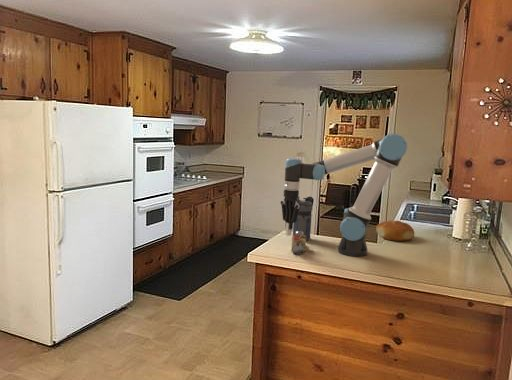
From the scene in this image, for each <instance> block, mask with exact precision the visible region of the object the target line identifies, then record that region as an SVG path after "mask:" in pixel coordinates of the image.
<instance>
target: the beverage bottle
mask: <svg viewBox="0 0 512 380" xmlns="http://www.w3.org/2000/svg"><path fill="white" fill-rule="evenodd" d="M297 201H298V204H299V205H301V207H300V209H299V212H298V216H297V220H296V222H294V223H293V228H292V236H293V235H295V234H296V231H303V235H305V236H306V241H308V240H310V238H311V231H312V230H311V229H312V228H311V227H312V216H313V215H312V211H313V205H314V202H315V201H314V198H313V197H312V196H307V197H303V198H302V199H300V196H299V197H298V198H297Z"/></svg>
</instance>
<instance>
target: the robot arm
mask: <svg viewBox="0 0 512 380" xmlns="http://www.w3.org/2000/svg"><path fill="white" fill-rule="evenodd" d="M407 149H408V143H407V141H406V139H405V137H403V136H402V135H400V134H398V133H395V132H394V133H388V134H387V135H385V136H384V137H382V138H380V139H378V140H375V141H373V142H372V144H370V145H366V146H362V147H359V148H357V149H356V148H355V149H352V150H350V151H348V152H344V153H342V154H337V155H335V156H333V157H329V158H326V159H323V160H320V161H315V162H313V163H303V162H302V160H301V159H300V158H287V159H286V161H285V167H284V171H285V172H284V184H283V188H284V189H283V197H284V198H283V200H281V201H280V205H281V213H282V214H281V215H282V220H283V221H285V225H284V226H285V236H287V237H288V236H292V235H293V223H294V222H296V220H297V216H298V212H299V209H300V207H301V205H299V204H298V201H297V198H298V197H299V198H300V196H299V195H300V193H299V192H300V191H299V190H300V179H302V180H303V179H305V180H313V181H314V180H315V181H323V180H324V178H325V177H326V175H328V174H331V173H334V172H338V171H342V170H344V169H348V168H351V167H355V166H357V165H361V164H364V163H367V162H372V161H374V163H373V165H372V167H371V169H370V171H369V173H368V175H367V178H366V179H365V181H364V184H363V186H362V187H361V189H360V192H359V194H358V196H357V198H356V200H355V202H354V204H353V206H351V207H348V208H345V209H344V212H343V219H342V221H341V222H340V225H339V230H340V234H341V235H342V236H341V239H340V241H339V244H338V247H337V252H338V253H339V254H341V253H342V255H344V256H350V257H365V256H367V255H368V252H369V251H368V246H367V245H368V244H367V241H366V234H367V228H368V226H369V224H370V221H371V220H372V216H371V213H372V210H373V208H374V206H375V205H376V202H377V201H378V199H379V197H380V195H381V193H382V191H383V189H384V187H385V185H386V183H387V181H388V179H389V178H390V175H391V172H392V170H393V169H395V168H398V167H399V165H400V162H401V161H402V158H403V157H404V156H405V154H406V153H407V151H408V150H407Z"/></svg>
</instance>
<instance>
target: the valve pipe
mask: <svg viewBox="0 0 512 380" xmlns="http://www.w3.org/2000/svg"><path fill="white" fill-rule="evenodd" d="M291 236H292V237H291V250H290V251H291V252H292V254H293V255H303V253H304V252H306V247H307V246H306V245H307V244H306V243H307V240H306V236H305V235H303V236H301V238H300V241H293V238H294V235H293V234H292V235H291Z"/></svg>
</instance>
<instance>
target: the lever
mask: <svg viewBox="0 0 512 380" xmlns="http://www.w3.org/2000/svg"><path fill="white" fill-rule="evenodd" d="M301 236H303V231H296V234H295V235H294V238H293V241H300V238H301Z"/></svg>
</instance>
